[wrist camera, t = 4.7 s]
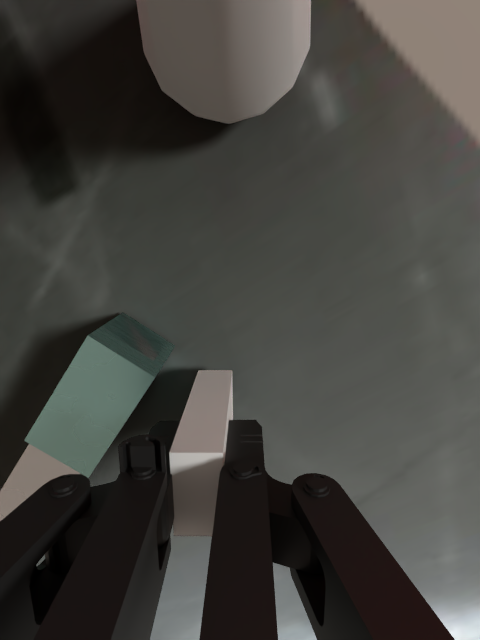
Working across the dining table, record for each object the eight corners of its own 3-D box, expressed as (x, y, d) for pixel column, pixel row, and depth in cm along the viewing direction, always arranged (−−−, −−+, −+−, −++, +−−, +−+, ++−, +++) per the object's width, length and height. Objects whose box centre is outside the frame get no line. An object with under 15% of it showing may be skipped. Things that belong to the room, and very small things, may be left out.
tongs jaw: (-32, 656, 23) (-90, 745, 19) (-88, 628, 22) (-160, 713, 18) (175, 345, 18) (155, 377, 14) (109, 303, 18) (70, 324, 14)
